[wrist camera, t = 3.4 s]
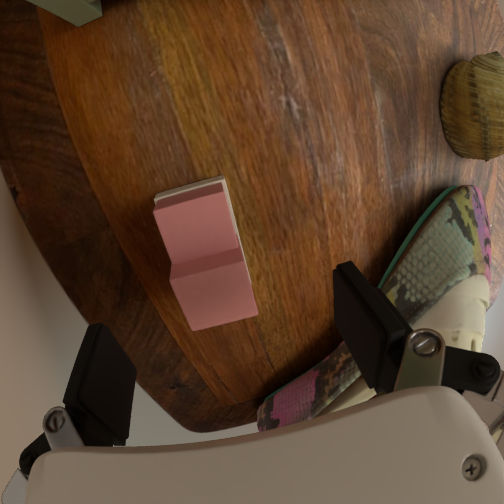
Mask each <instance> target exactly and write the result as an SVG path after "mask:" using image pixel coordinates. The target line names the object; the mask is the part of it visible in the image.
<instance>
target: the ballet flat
mask: <svg viewBox="0 0 504 504" xmlns="http://www.w3.org/2000/svg"><path fill="white" fill-rule="evenodd" d="M490 263H491V241H490V227H489V220H488V214H487V209H486V204H485V199H484V196H483V193H482V192H481V190H480V189H479V188H478V187H476V186H473V185H461V186H451V187H449V188H447V189H446V190H445V191H443V192H442V193H441V194H440V195H439V196H438V197H437V198H436V199H435V200H434V201H433V203H432V204H431V205H430V206H429V207H428V208H427V209H426V211H425V212H424V213H423V215H422V216H421V217H420V218H419V220H418V221H417V222H416V224H415V225H414V227H413V228H412V230H411V231H410V233H409V234H408V236H407V237H406V239H405V240H404V242H403V243H402V245H401V247H400V248H399V250H398V252H397V253H396V255H395V257H394V258H393V260H392V262H391V263H390V265H389V267H388V269H387V270H386V272H385V274H384V276H383V278H382V280H381V282H380V284H379V285H378V288H380V289H381V290H382V291H383V293H384V294H385V295H386V296H387V297H388V299H389V300H390V301H391V302H392V304H393V305H394V306H395V307H396V309H397V310H398V311H399V312H400V314H401V315H402V316H403V317H404V319H405V320H406V321H407V323H408V324H409V325H410V326H411V328H412V329H413V330H416V329H420V328H429V329H433V330H435V331H437V332H439V333H440V334H441V335H442V336H443V338H444V340H445V345H446V346H451V347H456V348H460V349H465V350H470V351H475V352H480V353H481V349H482V339H483V337H484V333H485V309H486V308H487V307H488V306H489V286H490V280H491V271H490ZM385 394H386V393H385V391H384V392H382V393H379V394H376V392H375V390H374V388H372V389H369V388H368V386H367V384H366V382H365V380H364V378H363V376H362V374H361V372H360V370H359V368H358V366H357V365H356V363H355V361H354V359H353V357H352V355H351V353H350V351H349V349H348V347H347V346H346V344H345V342H344V341H343V342H342V343H341V344H340V345H339V346H338V347H337V348H336V349H335V350H334V351H333V352H332V353H330V355H328V356H327V357H326V358H325V359H324V360H323V361H321V362H320V363H318V364H317V365H315V366H314V367H312V368H311V369H309V370H308V371H306V372H305V373H303V374H302V375H300V376H299V377H297V378H295V379H294V380H292V381H291V382H289V383H287V384H286V385H284V386H283V387H281V388H279V389H278V390H276V391H275V392H273V393H272V394H270V395H269V396H268V397H266V398H265V400H264V403H263V404H262V405H260V406H259V408H258V410H257V427H258V430H259V432H262V431H267V430H271V429H275V428H280V427H284V426H288V425H291V424H295V423H299V422H302V421H306V420H309V419H313V418H316V417H319V416H323V415H326V414H329V413H332V412H335V411H339V410H342V409H345V408H348V407H350V406H353V405H356V404H359V403H362V402H364V401H367V400H370V399H373V398H376V397H379V396H382V395H385Z"/></svg>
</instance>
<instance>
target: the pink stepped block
mask: <svg viewBox="0 0 504 504" xmlns="http://www.w3.org/2000/svg"><path fill="white" fill-rule="evenodd" d="M154 202H155V207H154V210H153V214H154V217H155V220H156V223H157V225H158V228H159V231H160V234H161V236H162V239H163V242H164V244H165V247H166V249H167V252H168V254H169V257H170V260H171V262H172V264H171V271H170V278H169V282H170V284H171V286H172V289H173V291H174V293H175V295H176V298H177V300H178V302H179V304H180V306H181V308H182V311H183V313H184V315H185V317H186V319H187V321H188V323H189V326H190V328H191V330H192V331H196V330H201V329H205V328H209V327H213V326H218V325H222V324H226V323H230V322H234V321H237V320H241V319H245V318H249V317H253V316H257V315H258V310H257V306H256V302H255V298H254V294H253V290H252V287H251V280H250V276H249V272H248V268H247V264H246V260H245V256H244V252H243V248H242V244H241V240H240V236H239V233H238V229H237V225H236V221H235V217H234V213H233V209H232V205H231V201H230V197H229V193H228V189H227V185H226V181H225V177H224V175H221V176H217V177H213V178H210V179H206V180H202V181H199V182H195V183H192V184H188V185H185V186H181V187H178V188H174V189H171V190H168V191H164V192H161V193H158V194H156V196H155V198H154Z"/></svg>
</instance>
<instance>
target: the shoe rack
mask: <svg viewBox="0 0 504 504" xmlns="http://www.w3.org/2000/svg"><path fill="white" fill-rule="evenodd" d="M27 1H29V2H31V3H33V4H35V5H37V6H39V7H41V8H43V9H45V10H47V11H49V12H51V13H53V14H55V15H57V16H59V17H61V18H63V19H64V20H66V21H68V22H70V23H72V24H74V25H75V26H77V27H80V26H82V25H84V24H86V23H88V22H90V21H92V20H95V19H97V18H99V17H101V16H102V15H103V14H102V7H101V1H100V0H27Z"/></svg>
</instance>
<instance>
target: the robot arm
mask: <svg viewBox="0 0 504 504" xmlns="http://www.w3.org/2000/svg"><path fill="white" fill-rule="evenodd" d="M333 289H334V319H335V324H336V327H337V329H338V331H339V333H340V334H341V336H342V338H343V340H344V342H345V344H346V346H347V347H348V349H349V351H350V353H351V355H352V357H353V359H354V361H355V363H356V365H357V366H358V368H359V370H360V372H361V374H362V376H363V378H364V380H365V382H366V384H367V386H368V388H369V389H372V388H374V390H375V392H376V394H379V393H382V392H384V391H385V393H386V394H385V395H382V396H379V397H376V398H373V399H370V400H367V401H364V402H362V403H359V404H356V405H353V406H350V407H348V408H345V409H342V410H339V411H335V412H332V413H329V414H326V415H323V416H319V417H316V418H313V419H309V420H306V421H302V422H299V423H295V424H291V425H288V426H284V427H280V428H275V429H271V430H267V431H262V432H257V433H253V434H247V435H242V436H237V437H231V438H225V439H218V440H211V441H204V442H196V443H186V444H176V445H162V446H142V447H141V446H139V447H113V445H114V446H125V443H126V439H128V437H129V428H130V419H131V410H132V402H133V395H134V388H135V381H136V374H137V372H136V368H135V366H134V364H133V363H132V361H131V360H130V359H129V357H128V356H127V355H126V353H125V352H124V350H123V349H122V347H121V346H120V345H119V343H118V342H117V340H116V339H115V337H114V336H113V334H112V333H111V331H110V330H109V328H108V327H107V326H104V324H102V323H97V324H92V325H89V326H88V328H87V331H86V334H85V336H84V339H83V341H82V344H81V347H80V349H79V352H78V355H77V358H76V361H75V364H74V367H73V370H72V373H71V376H70V379H69V382H68V385H67V388H66V392H65V395H64V398H63V403H64V404H65V408H63V407H61V406H57V407H53V408H52V409H50V410H49V411H48V412H47V413H46V415H45V416H44V419H43V430H44V433H43V434H41V435H40V436H39V437H38V438H37V439H36V440H35V441H34V442H32V443H31V444H30V445H29V446H28V447H27V448H26V449H24V450H23V452H22V453H21V455H20V459H19V465H20V468H21V470H20V469H19V468H17V470H16V472H15V473H14V475H13V476H12V478H11V480H10V481H9V483H8V484H7V486H6V488H5V490H4V491H3V493H2V504H504V371H502V370H500V365H499V363H498V362H497V360H496V359H495V358H494V357H492V356H491V355H488V354H485V353H480V352H475V351H470V350H465V349H460V348H456V347H451V346H446V345H445V340H444V338H443V336H442V335H441V334H440V333H439V332H437V331H435V330H433V329H429V328H420V329H416V330H413V329H412V328H411V326H410V325H409V324H408V323H407V321H406V320H405V319H404V317H403V316H402V315H401V314H400V312H399V311H398V310H397V309H396V307H395V306H394V305H393V304H392V302H391V301H390V300H389V299H388V297H387V296H386V295H385V294H384V293H383V291H382V290H381V289H380V288H378V287H375V288H373V286H372V285H371V284H370V283H369V281H368V280H367V279H366V278H365V277H364V275H363V274H362V273H361V272H360V271H359V269H358V268H357V267H356V266H355V265H354V263H353V262H352V261H348V262H345V263H341V264H338V265H337V267H336V269H334V270H333ZM482 421H483V422H485V423H486V424H487V426H488V428H489V432H488V430H487V428H486V427H485V425H484V423H483V422H482Z"/></svg>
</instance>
